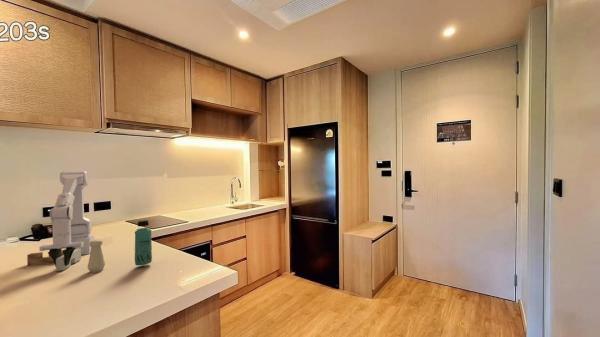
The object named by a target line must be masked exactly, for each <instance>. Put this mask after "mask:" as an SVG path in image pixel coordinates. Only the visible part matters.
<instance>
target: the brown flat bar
mask: <svg viewBox="0 0 600 337" xmlns="http://www.w3.org/2000/svg"><path fill="white" fill-rule="evenodd" d="M63 250H64V249H62V250H61V256H63V255H64V254H63ZM43 253H44V251H39V252H31V253H28V254H27V258H26V260H27V261H26V262H27V265H26V266H28V267H29V266H37V264H40V265H47V264H46V263H49V264H55V263H54V261H53V259H52V258H51V256H50V255H49V254H48V256H43V255H44V254H43ZM61 256H60V257H61Z"/></svg>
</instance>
